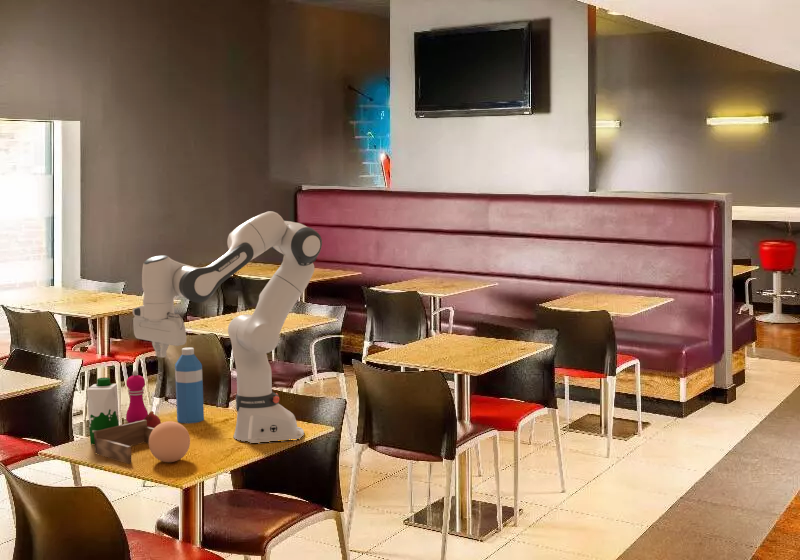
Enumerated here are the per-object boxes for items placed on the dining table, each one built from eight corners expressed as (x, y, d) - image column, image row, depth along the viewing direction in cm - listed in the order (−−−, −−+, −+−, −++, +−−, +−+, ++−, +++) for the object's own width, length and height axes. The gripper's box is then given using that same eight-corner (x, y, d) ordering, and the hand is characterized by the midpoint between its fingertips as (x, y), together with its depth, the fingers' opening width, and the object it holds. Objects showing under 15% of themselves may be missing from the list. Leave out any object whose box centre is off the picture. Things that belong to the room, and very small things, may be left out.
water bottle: (195, 415, 365) (192, 345, 362) (209, 420, 358) (206, 348, 355) (171, 420, 358) (168, 348, 356) (185, 424, 352) (183, 352, 349)
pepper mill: (137, 433, 341) (134, 373, 339) (121, 430, 345) (119, 371, 343) (153, 428, 347) (151, 369, 345) (138, 426, 351) (135, 367, 349)
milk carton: (122, 437, 336) (119, 376, 334) (114, 445, 327) (111, 382, 325) (94, 438, 336) (91, 377, 334) (86, 445, 327) (83, 383, 325)
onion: (156, 438, 335) (155, 413, 334) (140, 437, 336) (138, 413, 335) (164, 433, 341) (163, 409, 340) (147, 432, 342) (146, 408, 341)
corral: (178, 450, 320) (177, 427, 320) (128, 463, 307) (127, 440, 306) (145, 441, 332) (144, 419, 331) (95, 453, 318) (93, 431, 317)
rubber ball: (193, 455, 315) (191, 416, 313) (188, 466, 303) (186, 426, 302) (153, 456, 314) (151, 417, 313) (146, 468, 302) (144, 427, 301)
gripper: (190, 313, 304) (192, 359, 306) (145, 305, 316) (147, 350, 318) (173, 316, 299) (175, 363, 301) (128, 309, 311) (131, 354, 313)
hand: (161, 356), depth 310 cm, fingers closed
